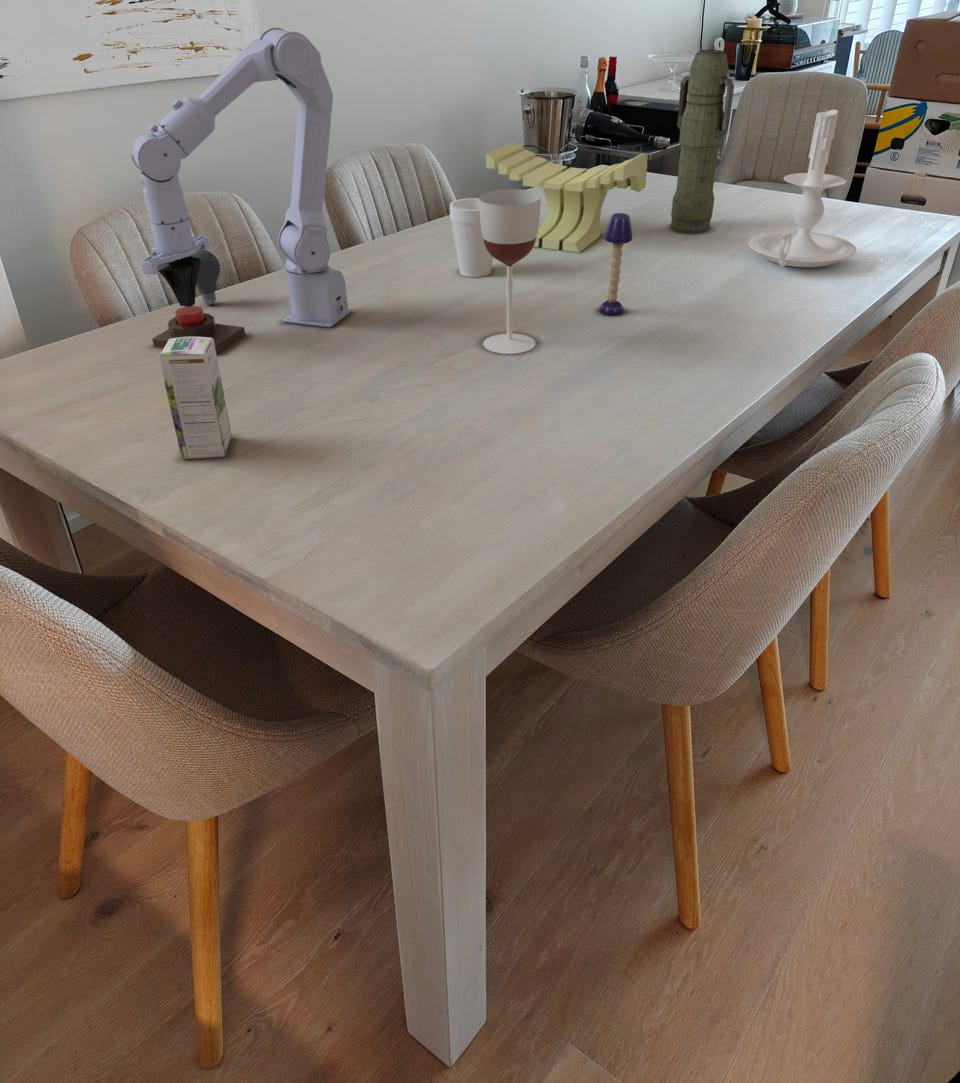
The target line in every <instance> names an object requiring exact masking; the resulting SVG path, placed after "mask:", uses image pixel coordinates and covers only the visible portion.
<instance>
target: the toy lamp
mask: <svg viewBox="0 0 960 1083" xmlns="http://www.w3.org/2000/svg"><path fill="white" fill-rule="evenodd" d="M604 240H605V241H606V242H608V243H611V244H612V248H613V249H612V252H611V256H612V258H611V261H610V265H611V267H610V271H609V274H610V276H609V280H608V282H609V284H608V289H607V290H608V291H607V292H608V293H607V298H606V299H607V300H605V301H603V302H602V303H601V304H600V307H599V312H600V313H601V314H602V315H605V316H612V317H613V316H620V315H622V314H623V313H624V305H623V304H622V303H621V302H620V301H618V292H619V283H620V274H621V265H622V257H623V250H622V249H623V247H624V244H628V243H631V242H632V241H633V230H632V224H631V217H630V215H629V214H626V213H624V212H623V213H622V212H617V213H613V214H611V217H610V219H609V222H608V225H607V227H606V231H605V234H604Z"/></svg>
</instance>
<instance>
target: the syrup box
mask: <svg viewBox="0 0 960 1083" xmlns="http://www.w3.org/2000/svg"><path fill="white" fill-rule="evenodd" d="M158 360H159V365H160V368H161V370H160V371H161V373H162V378H163V382H164V387H165V391H166V396H167V401H168V405H169V409H170V414H171V419H172V422H173V427H174V431H175V436H176V439H177V445H178V449H179V453H180V458H181V459H183V460H191V459H192V460H193V459H194V460H195V459H208V458H223V457H226V455H227V451H228V449H229V446H230V442H231V440H232V431H231V430H232V429H231V425H230V420H229V419H230V418H229V414H228V409H227V403H226V399H225V398H226V397H225V393H224V388H223V387H224V386H223V381H222V377H221V372H220V367H219V366H220V365H219V361H218V354H217V355H216V350H215V344H214V339H213V338H209V337H179V338H172V339H169V340H168V342H167V344H166V346H165V347H164V348H162V351H161V352H160V355H159V356H158Z"/></svg>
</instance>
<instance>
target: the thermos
mask: <svg viewBox="0 0 960 1083" xmlns="http://www.w3.org/2000/svg"><path fill="white" fill-rule="evenodd" d="M728 72H729V61H728V58H727V52H724V50H722V49H721V50H720V49H702V50H699V51H698V52H696V53H695V54H694V57H693V59H692V62H691V65H690V67H689V75H686V76H684V77H683V79H682V80H681V82H680V86H679V99H678V112H677V121H676V126H677V128H678V129H679V131H680V132H679V146H680V152H679V162H678V172H677V181H676V190H675V192H674V194H673V197H672V204H671V214H670V216H671V222H670V229H671V230H672V231H673V232H677V233H682V234H703V233H707V232H709V231H710V228H711V219H712V218H713V212H714V204H715V195H714V187H715V186H714V185H715V178H716V170H717V161H718V156H719V155H718V154H719V149H720V146H721V145H722V142H723V136H724V135H727V134H728V131H729V125H730V120H731V112H732V105H733V97H734V91H735V84H734V82H733V79H732V78H729V76H728ZM724 95H725V101H724Z"/></svg>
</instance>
